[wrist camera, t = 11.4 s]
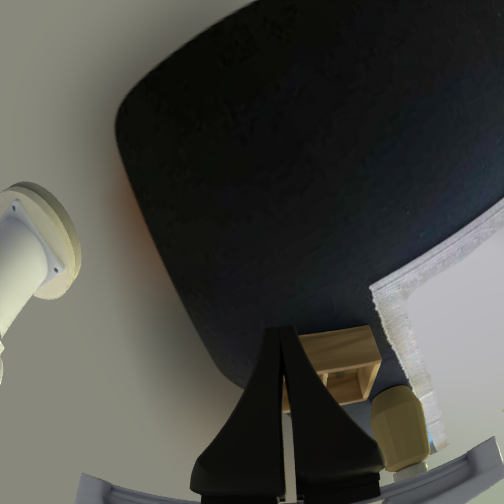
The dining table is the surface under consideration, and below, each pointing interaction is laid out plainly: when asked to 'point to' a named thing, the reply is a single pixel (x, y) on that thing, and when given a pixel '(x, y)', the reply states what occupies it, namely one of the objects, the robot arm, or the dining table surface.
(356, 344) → the cutlery caddy
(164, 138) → the dining table surface
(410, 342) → the dining table surface
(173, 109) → the dining table surface
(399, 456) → the squeeze bottle
